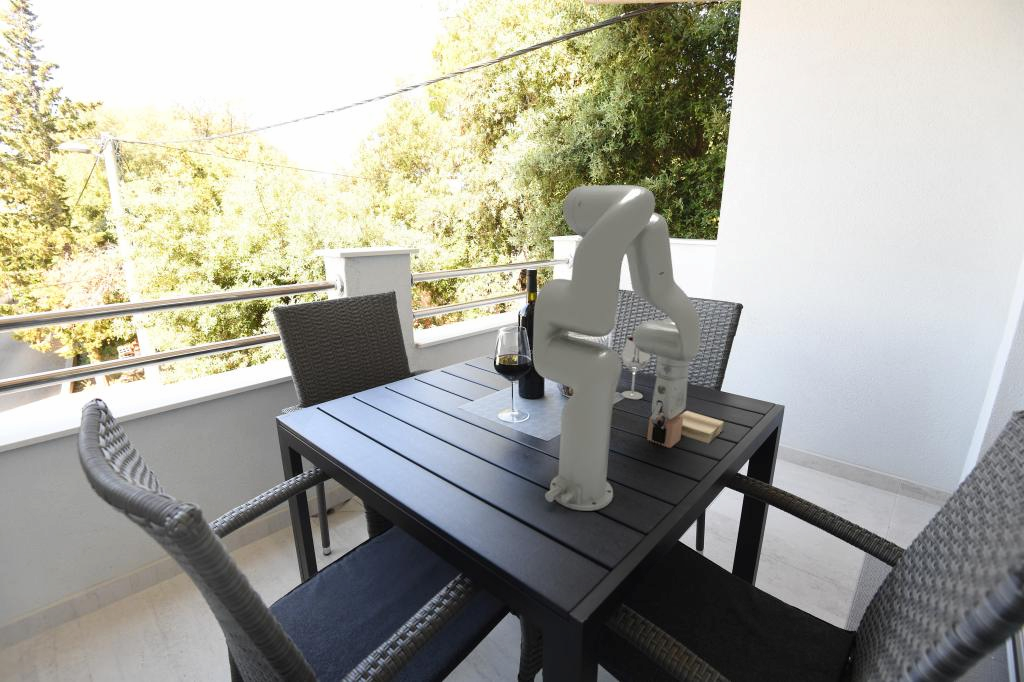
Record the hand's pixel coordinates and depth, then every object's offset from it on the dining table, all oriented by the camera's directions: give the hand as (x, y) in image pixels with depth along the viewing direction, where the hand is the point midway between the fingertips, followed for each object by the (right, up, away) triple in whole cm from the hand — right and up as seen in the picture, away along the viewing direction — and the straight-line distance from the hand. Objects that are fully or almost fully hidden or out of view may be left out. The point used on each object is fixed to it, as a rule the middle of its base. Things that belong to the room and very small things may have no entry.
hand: (664, 436), depth 121 cm
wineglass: (-1, +7, +28) cm, 29 cm away
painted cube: (0, -1, 0) cm, 1 cm away
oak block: (+10, 0, +6) cm, 12 cm away
